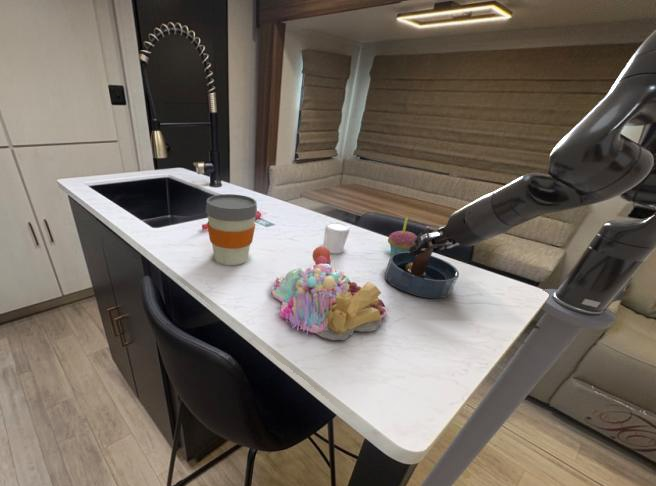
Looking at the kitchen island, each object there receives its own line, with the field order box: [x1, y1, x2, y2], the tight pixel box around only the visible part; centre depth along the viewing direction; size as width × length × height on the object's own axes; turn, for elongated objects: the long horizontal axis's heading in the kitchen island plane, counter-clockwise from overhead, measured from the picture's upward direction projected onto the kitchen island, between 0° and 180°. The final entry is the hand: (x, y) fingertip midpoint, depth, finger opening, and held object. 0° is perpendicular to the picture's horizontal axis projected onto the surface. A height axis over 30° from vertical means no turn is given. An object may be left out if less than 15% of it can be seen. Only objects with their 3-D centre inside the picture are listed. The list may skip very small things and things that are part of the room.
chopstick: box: [201, 210, 262, 231], centre depth 103 cm, size 24×2×5 cm
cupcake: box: [387, 215, 418, 256], centre depth 86 cm, size 9×8×12 cm
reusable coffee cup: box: [205, 193, 258, 266], centre depth 78 cm, size 13×13×15 cm
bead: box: [405, 263, 413, 272], centre depth 78 cm, size 3×3×3 cm
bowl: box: [384, 252, 460, 299], centre depth 75 cm, size 15×15×5 cm
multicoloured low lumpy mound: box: [271, 245, 388, 341], centre depth 64 cm, size 25×24×9 cm
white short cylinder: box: [322, 222, 350, 254], centre depth 89 cm, size 7×7×7 cm
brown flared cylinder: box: [407, 225, 439, 278], centre depth 72 cm, size 4×4×12 cm
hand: (417, 251), depth 73 cm, fingers closed on brown flared cylinder, 3 cm apart
